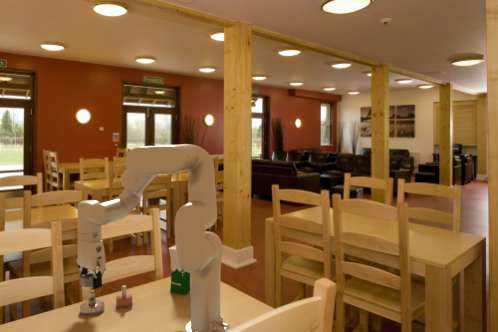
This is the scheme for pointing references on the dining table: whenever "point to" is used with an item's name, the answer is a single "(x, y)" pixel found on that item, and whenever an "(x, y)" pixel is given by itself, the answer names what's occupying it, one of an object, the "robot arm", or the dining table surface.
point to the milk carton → (178, 275)
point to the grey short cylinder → (87, 279)
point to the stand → (124, 299)
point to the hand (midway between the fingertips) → (91, 285)
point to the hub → (92, 306)
